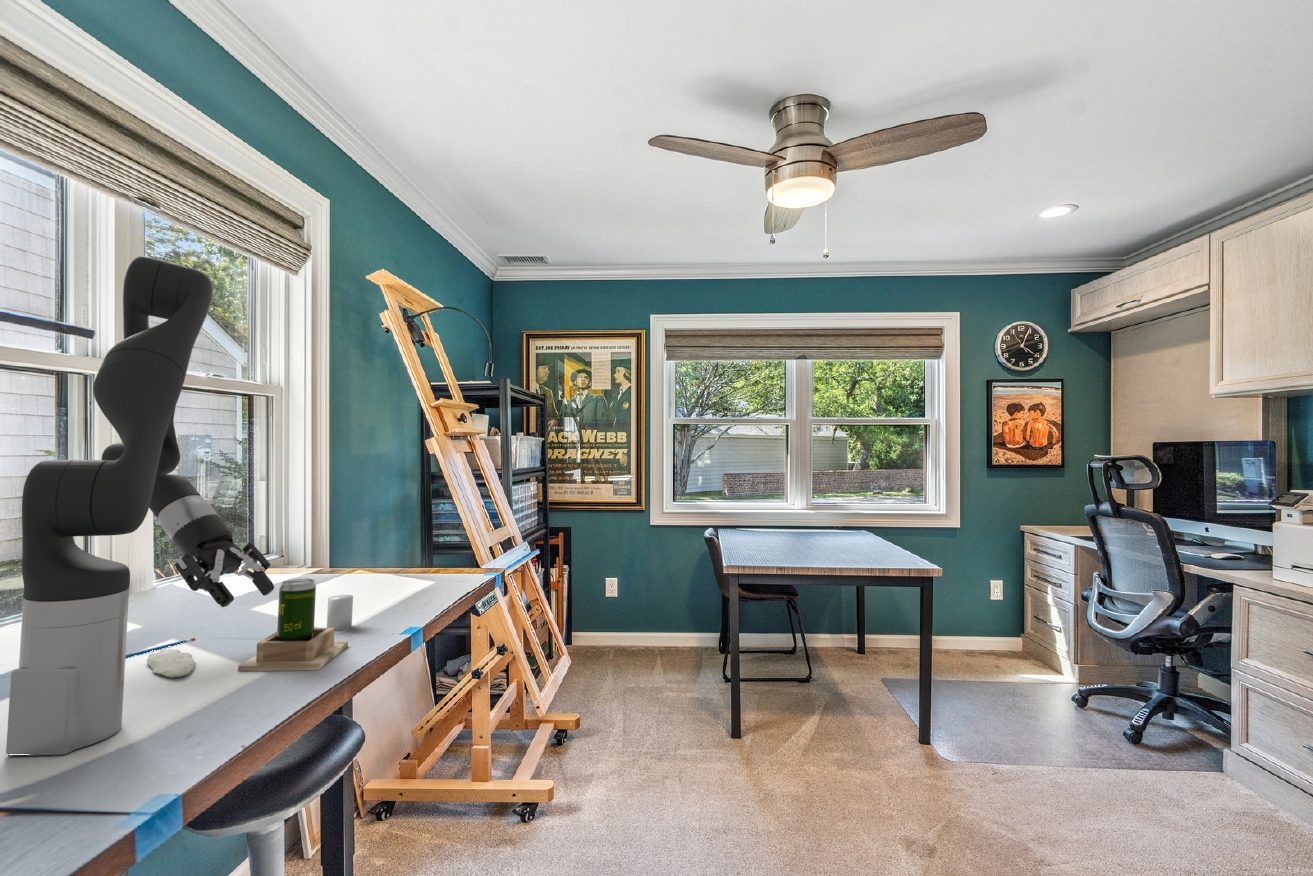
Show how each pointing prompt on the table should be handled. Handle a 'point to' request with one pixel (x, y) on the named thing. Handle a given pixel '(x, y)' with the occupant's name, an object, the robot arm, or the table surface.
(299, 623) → the beer can
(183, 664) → the stone tool
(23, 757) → the table surface
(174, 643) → the pencil
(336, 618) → the short post
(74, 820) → the table surface
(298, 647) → the socket
